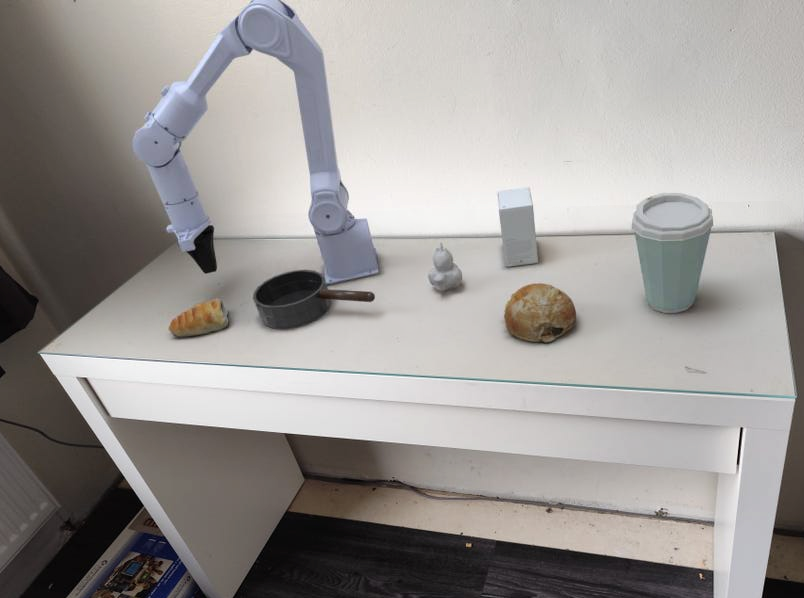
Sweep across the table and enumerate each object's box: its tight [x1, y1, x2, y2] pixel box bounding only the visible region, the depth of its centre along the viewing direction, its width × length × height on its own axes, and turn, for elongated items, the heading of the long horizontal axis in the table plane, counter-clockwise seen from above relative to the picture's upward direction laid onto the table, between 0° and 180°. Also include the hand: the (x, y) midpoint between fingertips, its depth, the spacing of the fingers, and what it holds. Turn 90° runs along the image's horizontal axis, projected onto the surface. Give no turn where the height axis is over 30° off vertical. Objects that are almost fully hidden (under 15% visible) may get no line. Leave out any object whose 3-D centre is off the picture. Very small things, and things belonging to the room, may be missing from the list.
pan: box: [252, 269, 332, 330], centre depth 110 cm, size 12×12×4 cm
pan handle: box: [319, 288, 376, 303], centre depth 106 cm, size 10×2×2 cm, turn 71°
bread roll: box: [503, 282, 577, 344], centre depth 96 cm, size 10×10×8 cm
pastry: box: [168, 297, 229, 338], centre depth 110 cm, size 9×7×4 cm
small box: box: [496, 186, 539, 268], centre depth 112 cm, size 8×6×10 cm
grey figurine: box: [427, 242, 463, 291], centre depth 107 cm, size 5×7×8 cm
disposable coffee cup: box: [630, 192, 714, 314], centre depth 93 cm, size 11×11×15 cm
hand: (210, 270), depth 117 cm, fingers closed
